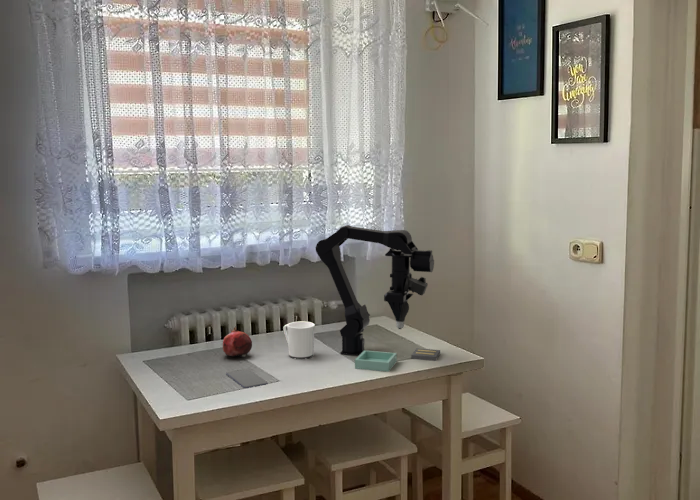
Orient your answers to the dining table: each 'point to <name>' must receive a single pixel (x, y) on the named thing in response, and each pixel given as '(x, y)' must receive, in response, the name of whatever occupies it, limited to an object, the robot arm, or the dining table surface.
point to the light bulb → (402, 315)
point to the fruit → (237, 343)
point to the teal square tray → (375, 360)
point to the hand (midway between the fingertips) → (400, 318)
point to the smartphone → (246, 378)
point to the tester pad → (425, 354)
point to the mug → (300, 339)
